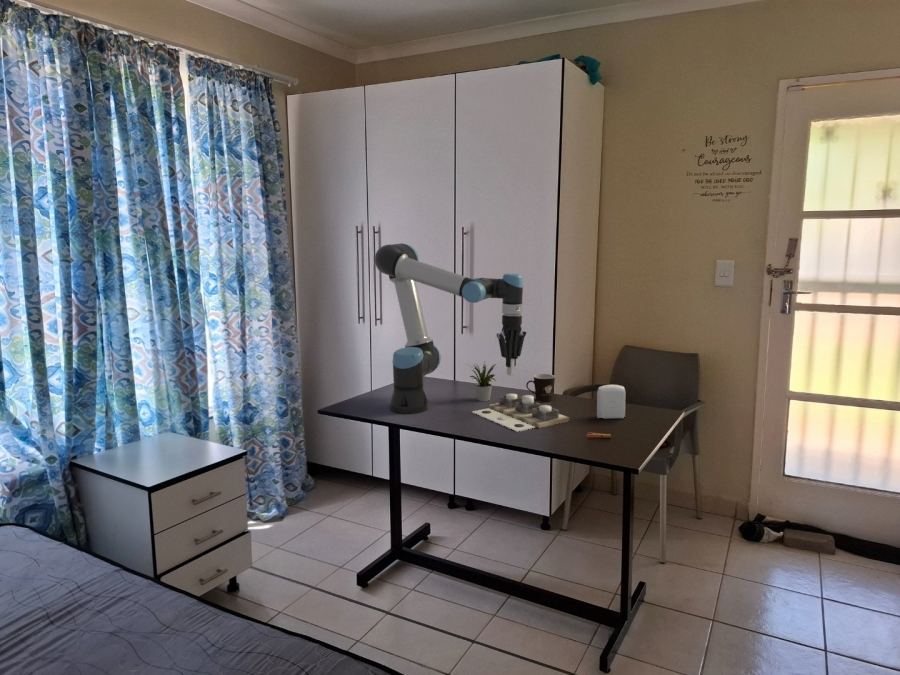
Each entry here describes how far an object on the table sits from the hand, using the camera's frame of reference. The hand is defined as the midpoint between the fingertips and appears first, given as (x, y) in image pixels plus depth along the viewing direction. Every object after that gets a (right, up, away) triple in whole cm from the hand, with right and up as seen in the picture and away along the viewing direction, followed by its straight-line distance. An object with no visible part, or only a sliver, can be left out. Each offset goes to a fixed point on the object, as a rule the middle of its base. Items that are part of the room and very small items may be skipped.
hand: (510, 374), depth 245 cm
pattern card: (-4, -16, -13) cm, 21 cm away
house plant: (-11, -11, +15) cm, 22 cm away
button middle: (+6, -11, -7) cm, 14 cm away
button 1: (+1, -11, +2) cm, 12 cm away
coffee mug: (+13, -11, +14) cm, 22 cm away
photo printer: (+36, -15, -11) cm, 41 cm away
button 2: (+11, -14, -15) cm, 23 cm away
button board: (+6, -15, -6) cm, 17 cm away
